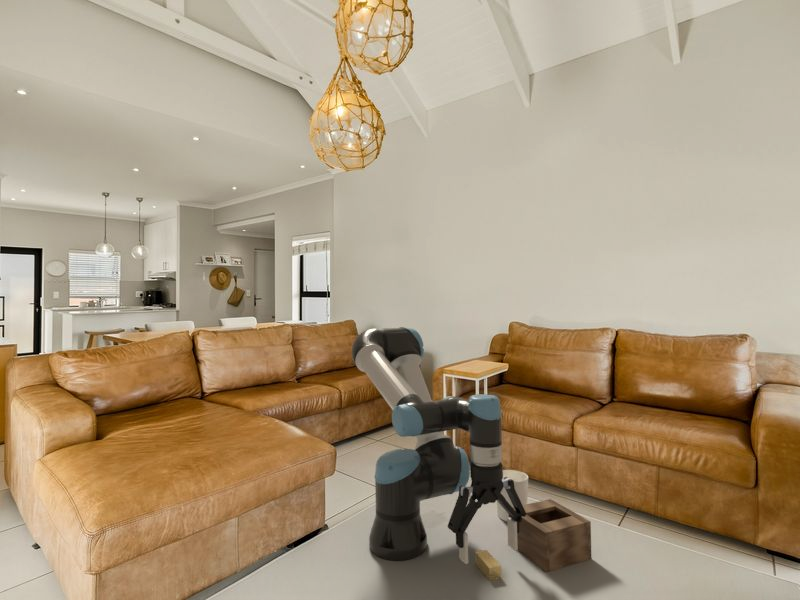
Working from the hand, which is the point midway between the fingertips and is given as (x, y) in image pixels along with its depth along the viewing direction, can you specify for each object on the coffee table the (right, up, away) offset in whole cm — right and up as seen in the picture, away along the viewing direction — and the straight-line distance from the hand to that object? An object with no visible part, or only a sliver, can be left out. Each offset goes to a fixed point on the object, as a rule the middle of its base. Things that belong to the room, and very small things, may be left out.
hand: (488, 554), depth 101 cm
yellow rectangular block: (0, -4, 0) cm, 4 cm away
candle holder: (+12, -5, +27) cm, 30 cm away
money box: (+17, -4, +9) cm, 19 cm away
